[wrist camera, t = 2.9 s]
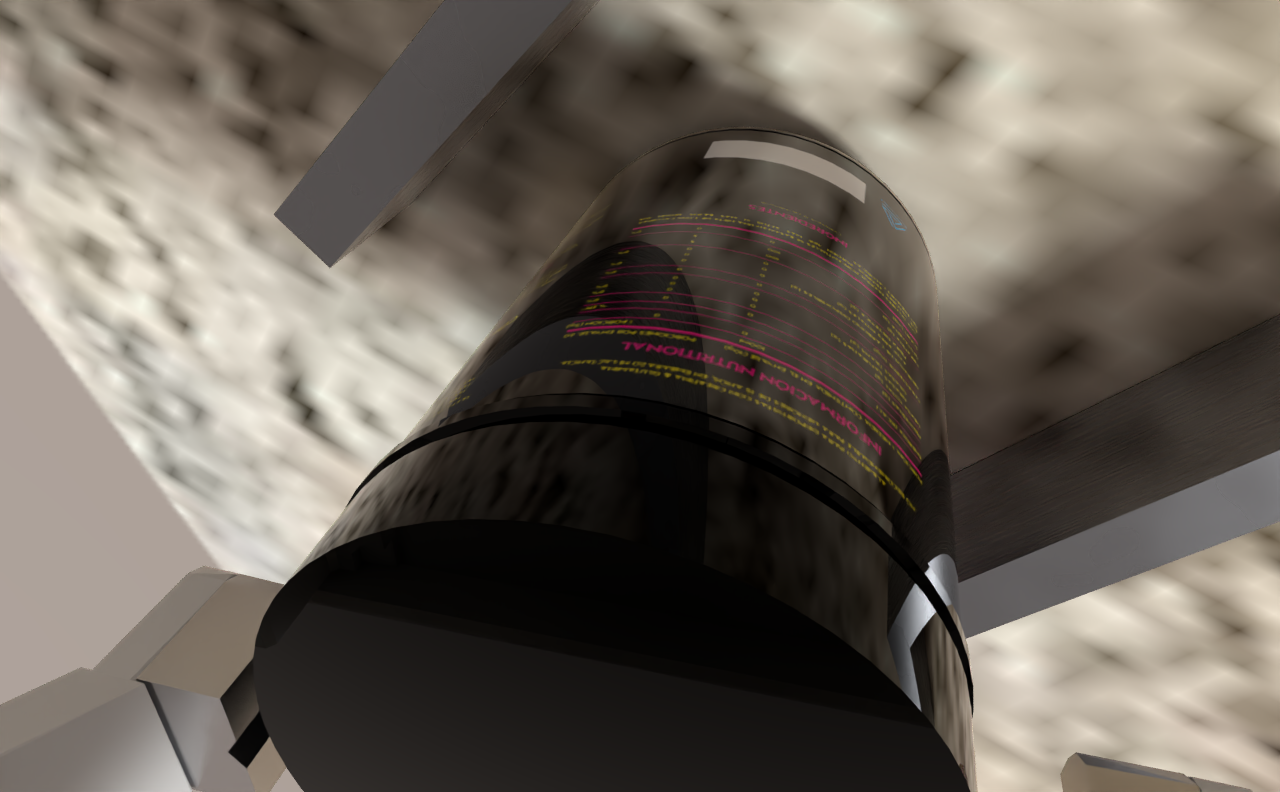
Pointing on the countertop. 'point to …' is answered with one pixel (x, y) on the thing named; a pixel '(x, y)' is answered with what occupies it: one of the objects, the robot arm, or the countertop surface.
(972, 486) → the metal angle brackets
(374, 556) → the supplement container
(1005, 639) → the countertop surface
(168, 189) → the countertop surface
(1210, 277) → the countertop surface
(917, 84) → the countertop surface
